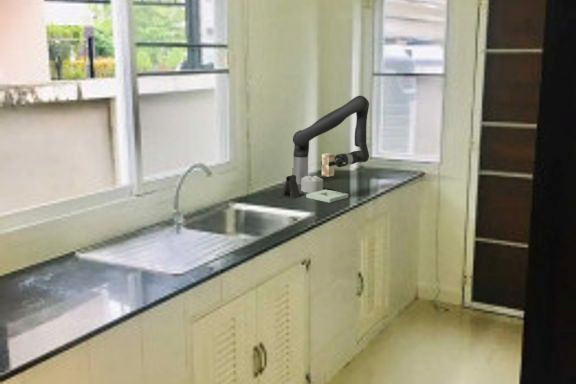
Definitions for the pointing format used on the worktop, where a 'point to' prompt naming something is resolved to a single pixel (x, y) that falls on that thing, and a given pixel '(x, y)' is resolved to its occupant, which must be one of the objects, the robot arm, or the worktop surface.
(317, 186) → the lumpy-topped squat cylinder
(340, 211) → the worktop surface
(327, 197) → the pocket frame
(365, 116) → the robot arm
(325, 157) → the birch block
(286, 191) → the phone stand
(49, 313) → the worktop surface
